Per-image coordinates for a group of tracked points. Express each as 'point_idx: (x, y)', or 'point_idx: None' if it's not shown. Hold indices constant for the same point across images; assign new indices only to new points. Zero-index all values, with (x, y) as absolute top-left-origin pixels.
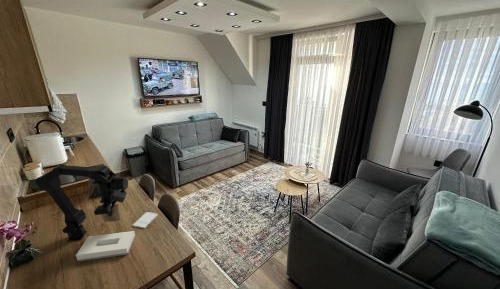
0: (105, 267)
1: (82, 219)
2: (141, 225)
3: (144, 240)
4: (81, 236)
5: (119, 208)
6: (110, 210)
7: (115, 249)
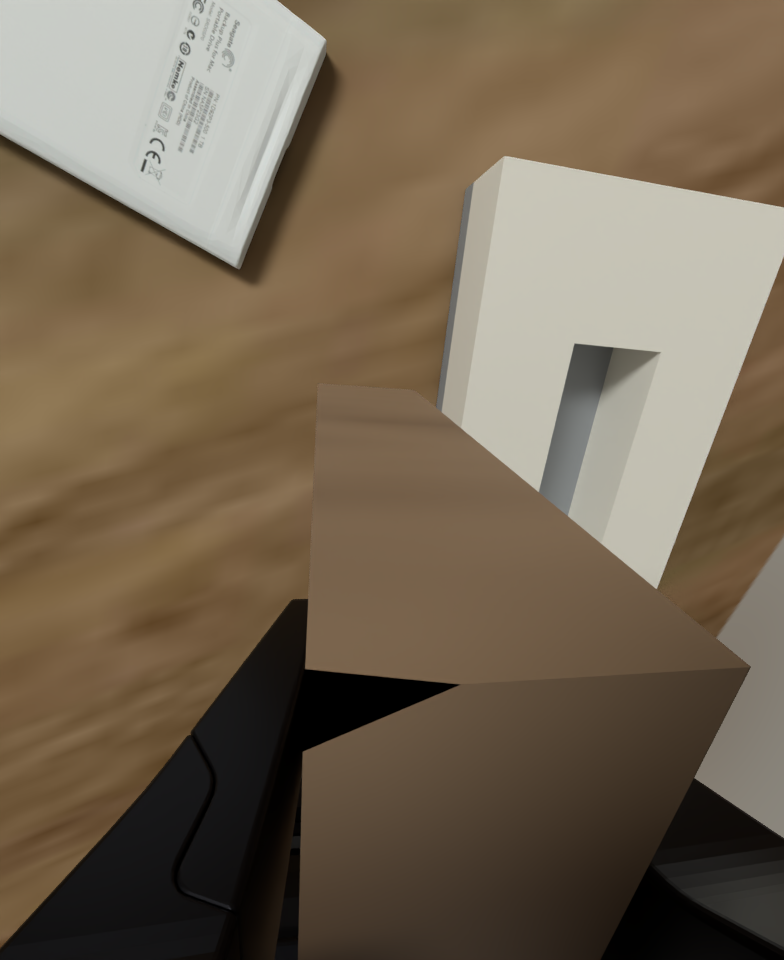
0: (749, 404)
1: (295, 909)
2: (271, 100)
3: (583, 30)
4: None
5: (374, 486)
6: (743, 817)
7: (745, 348)
